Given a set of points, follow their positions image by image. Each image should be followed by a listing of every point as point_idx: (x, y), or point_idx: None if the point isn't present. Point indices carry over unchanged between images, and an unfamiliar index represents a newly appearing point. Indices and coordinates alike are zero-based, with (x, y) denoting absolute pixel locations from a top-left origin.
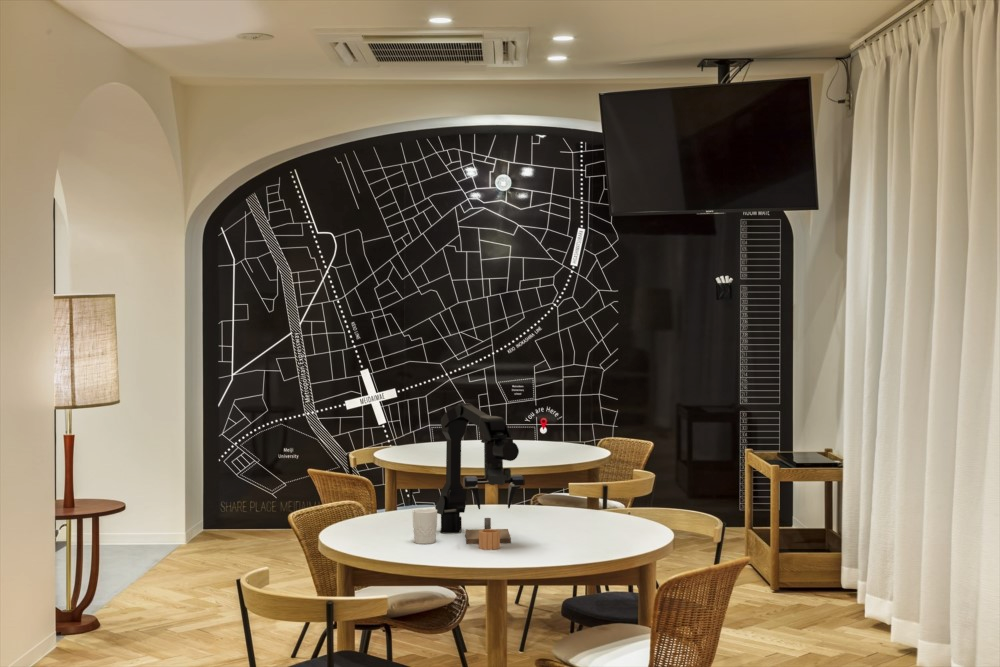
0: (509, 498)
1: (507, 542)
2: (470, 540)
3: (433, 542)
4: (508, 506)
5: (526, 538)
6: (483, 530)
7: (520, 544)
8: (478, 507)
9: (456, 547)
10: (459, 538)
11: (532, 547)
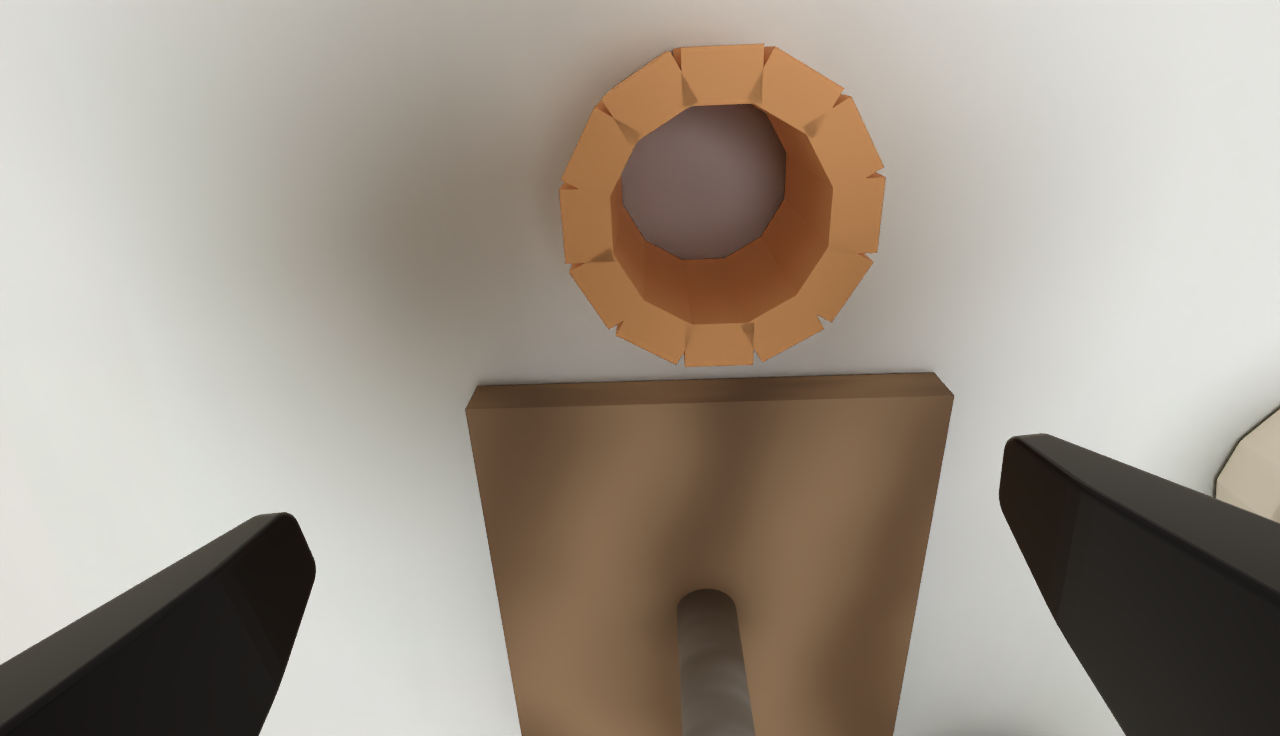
0: (43, 692)
1: (509, 388)
2: (901, 388)
3: (1262, 425)
4: (261, 532)
5: (356, 572)
6: (803, 285)
7: (372, 329)
8: (1081, 449)
9: (1076, 201)
10: (954, 595)
11: (213, 168)
